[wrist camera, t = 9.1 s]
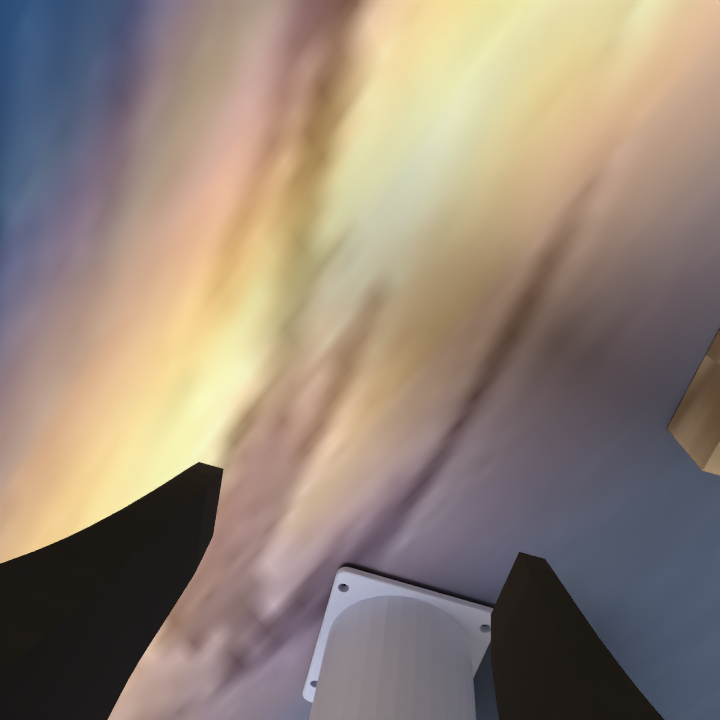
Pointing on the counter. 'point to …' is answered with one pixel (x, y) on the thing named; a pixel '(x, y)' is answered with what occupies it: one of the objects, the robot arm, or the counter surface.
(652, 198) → the counter surface
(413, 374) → the counter surface
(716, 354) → the socket block
